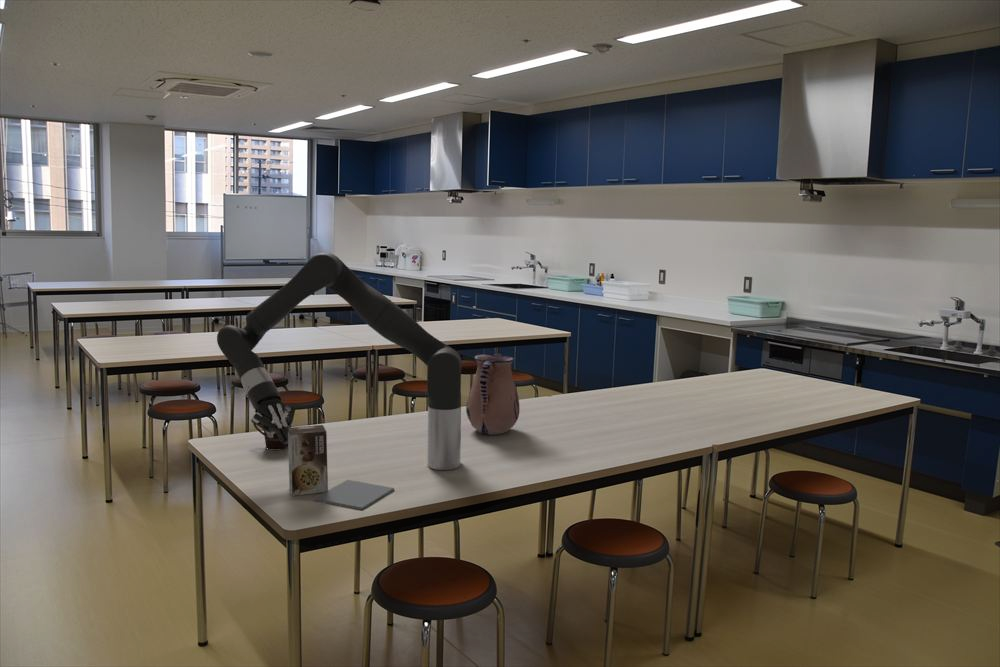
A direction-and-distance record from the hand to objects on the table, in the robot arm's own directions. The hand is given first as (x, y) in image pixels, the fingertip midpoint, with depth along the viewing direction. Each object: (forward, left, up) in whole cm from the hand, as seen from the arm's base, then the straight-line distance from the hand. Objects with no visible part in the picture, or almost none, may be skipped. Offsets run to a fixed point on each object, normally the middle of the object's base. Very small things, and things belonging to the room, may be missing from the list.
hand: (287, 442), depth 202 cm
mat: (+1, +21, -11) cm, 23 cm away
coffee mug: (-24, -24, -11) cm, 36 cm away
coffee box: (+3, +8, -11) cm, 14 cm away
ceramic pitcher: (-67, +29, -11) cm, 74 cm away
